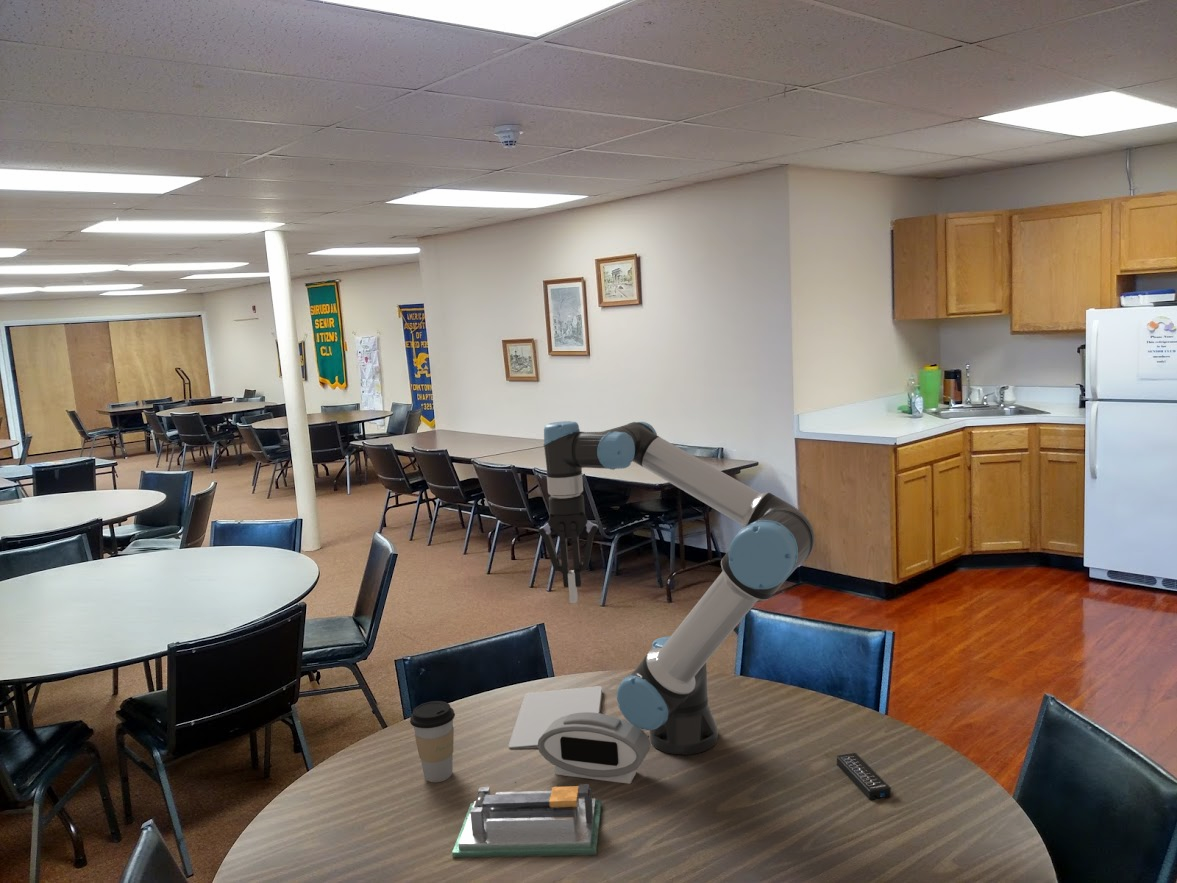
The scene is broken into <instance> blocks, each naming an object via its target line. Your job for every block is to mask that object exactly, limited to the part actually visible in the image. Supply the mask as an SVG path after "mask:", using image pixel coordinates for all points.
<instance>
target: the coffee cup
mask: <svg viewBox="0 0 1177 883" xmlns="http://www.w3.org/2000/svg"><path fill="white" fill-rule="evenodd" d="M455 716H456V713H455V710H454V709H453V708H452V707H451V705H450V704H449V703H448V702H446V701H443V700H442V701H441V700H434V701H433V700H432V701H427V702H425V703H421V704H420V705H419V704H418V705H417V706H416V707H415V708H414V709H413V711H412V714H411V715H410V719H409V723H410V724H411V726H412V727H413V729H414V738H415V743H416V748H417V752H418V757H419V759H420V762H421V766H422V772H423V777H424V779H425V780H426V781H427V782H430V783H441V782H444V781H446V780H448V779H449V778H450V777H451V776H452V775H453V764H454V763H453V759H454V754H453V753H454V742H455V741H454V739H455V738H454V735H455V733H454V732H455V731H454V730H455V729H454V724H453V723H454V719H455Z"/></svg>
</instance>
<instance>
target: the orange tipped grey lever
mask: <svg viewBox="0 0 1177 883" xmlns="http://www.w3.org/2000/svg"><path fill="white" fill-rule="evenodd" d="M551 791H552V792H551V793H532V794H504V795H495V794H490V795H486V794H485V793H483V792H481V793H479V795H478V794H477V798H476V800H475V801H476V803H475V806H474V807H483V808H495V807H524V806H550V808H554V807H577V803H578V791H579V785H576V786H575V785H573V786H572V785H569V786H552V788H551Z"/></svg>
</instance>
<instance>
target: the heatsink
mask: <svg viewBox="0 0 1177 883" xmlns="http://www.w3.org/2000/svg"><path fill="white" fill-rule="evenodd" d="M578 786H579V791H578V803H577V807H554V808H550V806H524V807H495V808H483V807H474V806H475V803H476V800H475V801H473V802H471V803H470V804H469V808H468V810H467V813H466V814H465V818H464V821H463V823H462V826H461V829H460V832H459V834H458V836H457V839H456V842H455V844H454V846H453V849H452V852H451V853H452V858H495V857H496V858H498V857H501V858H502V857H504V858H506V857H509V858H511V857H547V856H548V857H549V856H551V857H555V856H564V857H565V856H596V855H597V849H598V840H599V830H600V823H601V814H602V813H601V812H602V800H601V799H596V798H595V797H592V796H593V795H592V788H591V787H590V784H589V783H584V784H583V783H581V784H579V785H578ZM490 788H491V787H490V786H481V787H479V788H478V790H477V793H478V794H477V796H478V795H479V793H481V792H483V793H485V794H486V795H491V789H490ZM551 792H552V790H534V791H533V790H530V791H529V790H527V791H497V792H496V791H495V794H494V795H504V794H532V793H551Z"/></svg>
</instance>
